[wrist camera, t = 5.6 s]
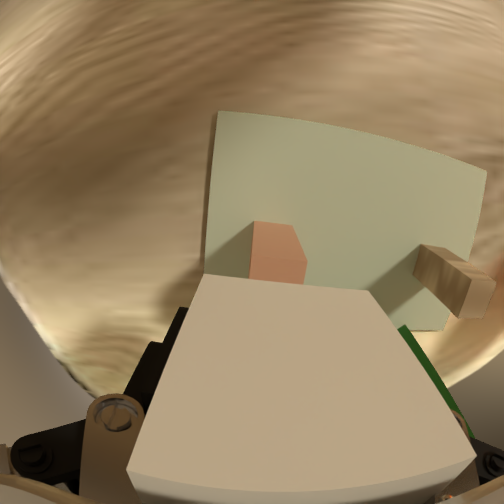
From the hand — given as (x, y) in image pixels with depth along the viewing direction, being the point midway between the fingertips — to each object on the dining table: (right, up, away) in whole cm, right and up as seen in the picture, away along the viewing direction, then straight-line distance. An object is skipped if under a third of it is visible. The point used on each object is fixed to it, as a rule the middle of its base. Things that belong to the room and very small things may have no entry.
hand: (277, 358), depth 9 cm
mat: (+7, +5, +12) cm, 14 cm away
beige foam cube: (0, 0, 0) cm, 0 cm away
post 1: (0, +4, +11) cm, 12 cm away
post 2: (+13, +3, +12) cm, 18 cm away
